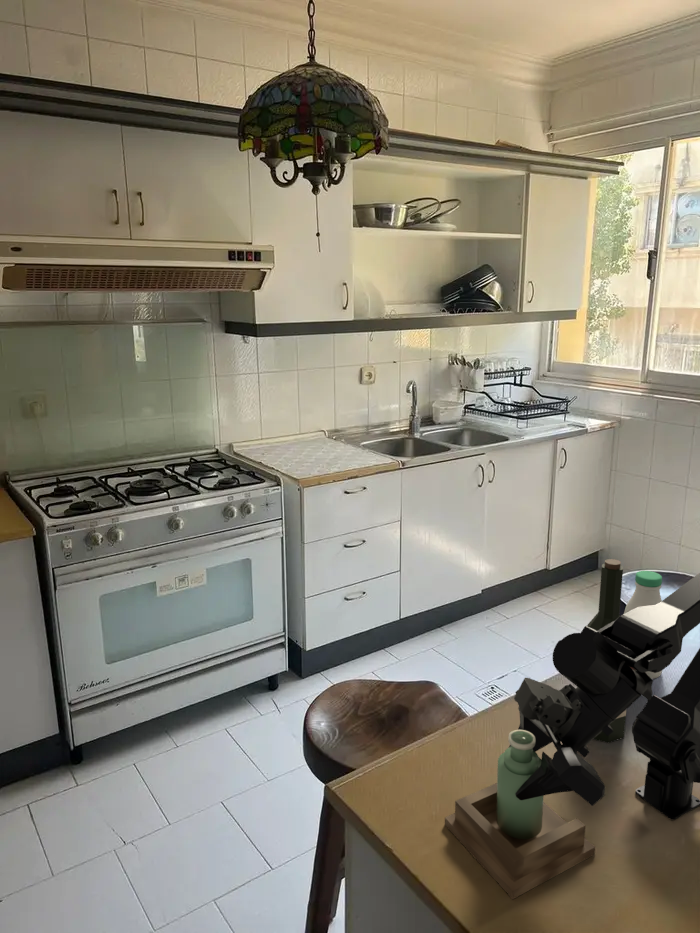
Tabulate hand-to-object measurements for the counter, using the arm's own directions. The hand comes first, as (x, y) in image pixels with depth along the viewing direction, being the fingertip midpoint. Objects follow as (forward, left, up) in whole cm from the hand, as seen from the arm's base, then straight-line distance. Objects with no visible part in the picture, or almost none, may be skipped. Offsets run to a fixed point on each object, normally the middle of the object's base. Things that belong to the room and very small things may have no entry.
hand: (510, 780), depth 90 cm
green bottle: (-1, +1, -7) cm, 7 cm away
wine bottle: (-30, -11, -10) cm, 34 cm away
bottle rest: (-1, +1, -9) cm, 9 cm away
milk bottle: (-51, -20, -10) cm, 56 cm away
